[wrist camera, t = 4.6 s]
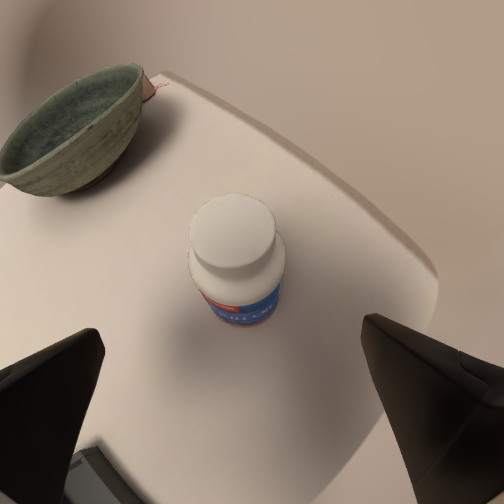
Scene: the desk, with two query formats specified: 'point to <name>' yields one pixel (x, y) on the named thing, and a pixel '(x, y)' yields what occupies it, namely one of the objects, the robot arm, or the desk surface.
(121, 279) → the desk surface
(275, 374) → the desk surface
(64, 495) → the tray
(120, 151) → the bowl
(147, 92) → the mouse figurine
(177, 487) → the desk surface
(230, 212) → the pill bottle
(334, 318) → the desk surface
